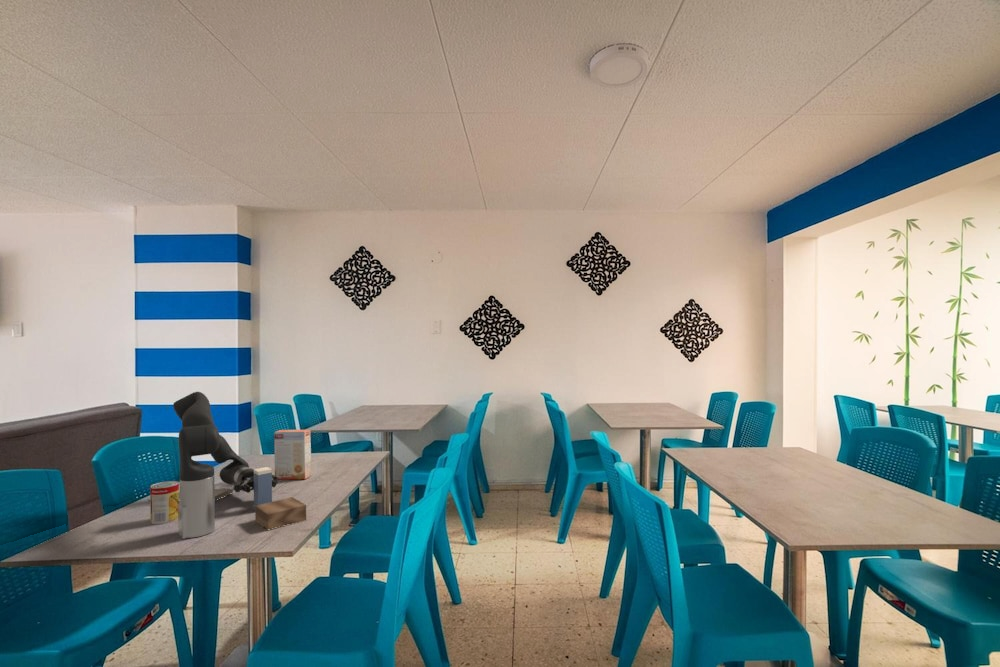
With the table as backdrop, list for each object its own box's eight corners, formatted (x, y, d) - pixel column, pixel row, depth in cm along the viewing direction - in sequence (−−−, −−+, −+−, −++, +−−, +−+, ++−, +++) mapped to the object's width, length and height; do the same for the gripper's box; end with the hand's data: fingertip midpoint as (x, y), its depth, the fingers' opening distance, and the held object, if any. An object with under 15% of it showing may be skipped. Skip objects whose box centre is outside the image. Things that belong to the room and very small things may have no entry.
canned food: (181, 514, 167) (181, 479, 167) (175, 522, 159) (175, 486, 160) (154, 517, 164) (154, 482, 164) (147, 525, 156) (147, 489, 157)
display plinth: (268, 530, 151) (268, 514, 151) (255, 520, 159) (255, 505, 159) (306, 520, 159) (306, 504, 159) (292, 511, 168) (291, 497, 168)
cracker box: (311, 476, 212) (311, 429, 213) (304, 480, 206) (304, 431, 207) (281, 475, 214) (281, 429, 214) (274, 479, 208) (273, 431, 208)
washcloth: (170, 509, 174) (169, 500, 174) (207, 493, 192) (207, 485, 192) (199, 510, 172) (199, 501, 172) (234, 494, 190) (233, 486, 190)
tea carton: (258, 511, 168) (258, 471, 168) (254, 508, 171) (253, 469, 172) (272, 508, 171) (271, 469, 171) (267, 505, 174) (267, 466, 175)
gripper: (226, 472, 178) (240, 480, 167) (266, 465, 188) (282, 472, 177) (226, 492, 178) (240, 502, 167) (267, 484, 188) (282, 492, 177)
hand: (262, 486), depth 172 cm, fingers open, 8 cm apart
